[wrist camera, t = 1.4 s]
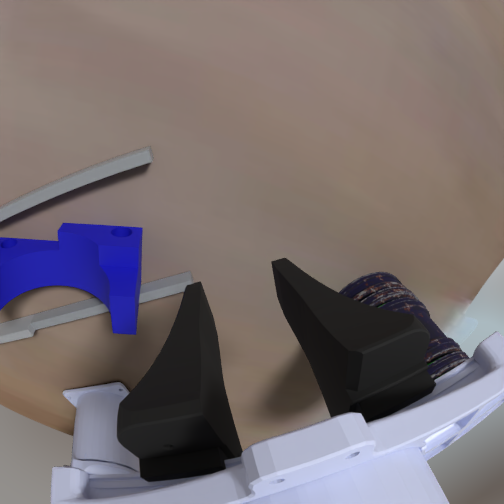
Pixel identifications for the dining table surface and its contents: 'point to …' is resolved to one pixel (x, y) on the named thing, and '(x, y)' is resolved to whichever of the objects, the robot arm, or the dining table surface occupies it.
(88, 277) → the blue arched bracket
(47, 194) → the grey u-shaped frame
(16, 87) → the dining table surface
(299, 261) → the dining table surface
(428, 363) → the storage jar
